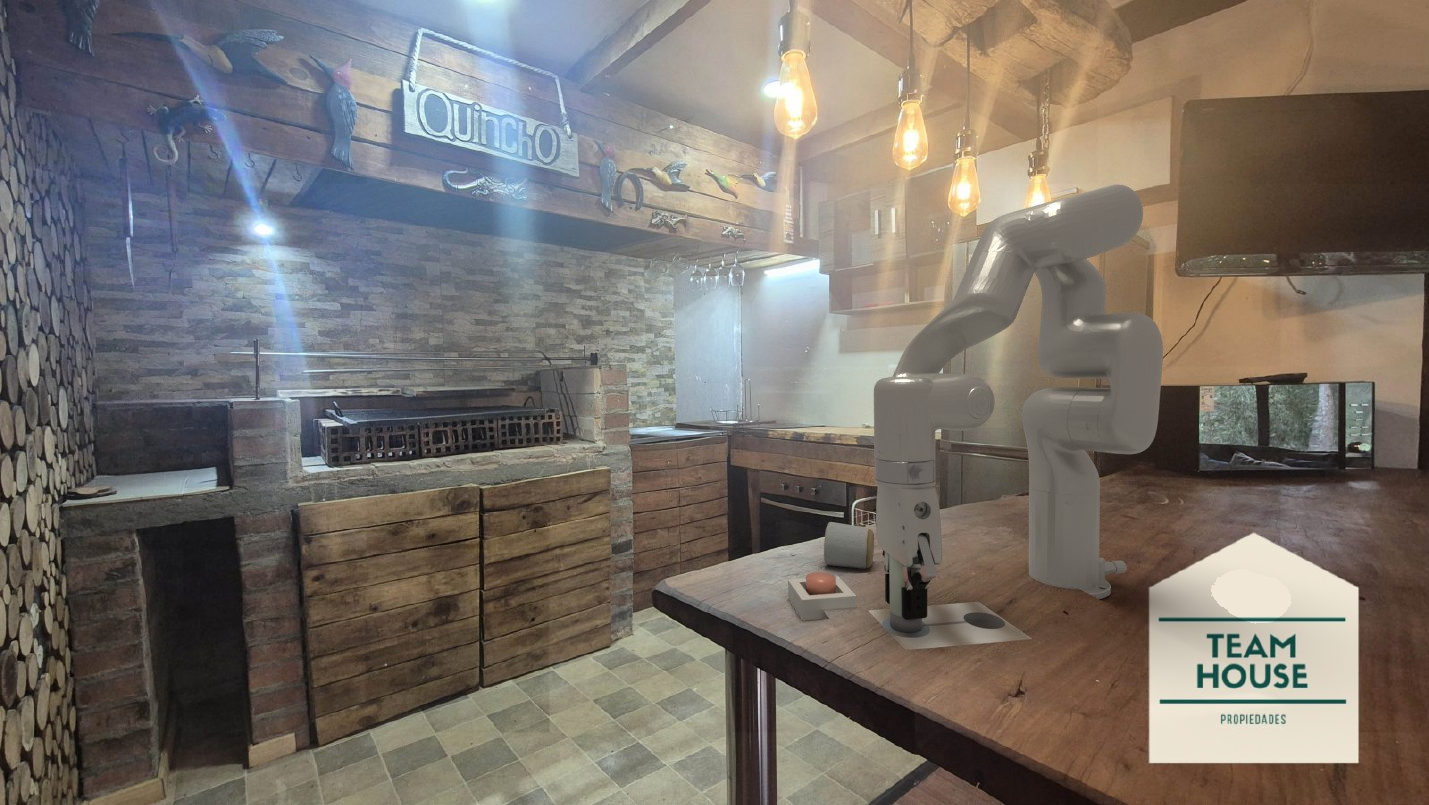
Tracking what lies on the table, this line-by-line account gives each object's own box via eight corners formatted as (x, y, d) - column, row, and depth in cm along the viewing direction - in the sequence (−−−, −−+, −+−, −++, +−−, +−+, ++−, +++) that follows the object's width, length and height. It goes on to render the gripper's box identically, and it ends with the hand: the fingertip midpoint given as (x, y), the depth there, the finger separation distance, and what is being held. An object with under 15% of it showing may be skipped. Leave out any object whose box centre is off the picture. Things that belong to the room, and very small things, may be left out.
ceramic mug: (871, 575, 97) (870, 531, 97) (823, 570, 100) (822, 527, 100) (876, 557, 107) (876, 516, 107) (832, 553, 110) (832, 513, 110)
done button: (830, 584, 87) (830, 571, 87) (840, 595, 83) (840, 581, 82) (802, 586, 86) (802, 573, 86) (810, 597, 82) (810, 584, 82)
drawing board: (980, 608, 83) (980, 599, 83) (1041, 651, 70) (1041, 640, 70) (861, 617, 81) (861, 608, 81) (902, 664, 68) (902, 653, 68)
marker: (913, 618, 77) (912, 538, 76) (927, 631, 73) (927, 547, 72) (885, 620, 76) (884, 540, 76) (898, 634, 72) (897, 549, 72)
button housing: (838, 594, 89) (837, 576, 89) (856, 616, 81) (856, 595, 81) (788, 598, 88) (788, 579, 88) (802, 620, 80) (802, 600, 80)
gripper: (968, 483, 66) (968, 637, 67) (903, 460, 82) (904, 584, 83) (906, 486, 65) (907, 642, 66) (853, 463, 81) (854, 588, 82)
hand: (905, 608), depth 75 cm, fingers open, 4 cm apart
